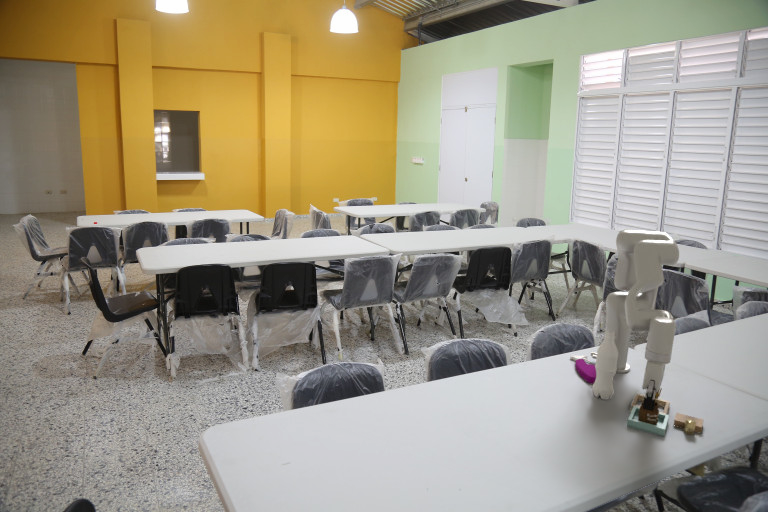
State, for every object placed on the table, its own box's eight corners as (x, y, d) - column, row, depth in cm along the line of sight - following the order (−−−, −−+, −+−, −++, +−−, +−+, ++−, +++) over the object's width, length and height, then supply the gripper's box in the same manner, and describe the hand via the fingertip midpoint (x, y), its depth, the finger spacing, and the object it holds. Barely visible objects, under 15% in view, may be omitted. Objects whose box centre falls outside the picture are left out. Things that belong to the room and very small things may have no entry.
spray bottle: (586, 385, 219) (563, 359, 243) (615, 385, 219) (589, 359, 243) (587, 377, 218) (564, 353, 242) (615, 377, 219) (590, 353, 242)
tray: (627, 426, 189) (628, 419, 188) (632, 412, 198) (633, 405, 197) (663, 436, 183) (664, 429, 182) (668, 422, 192) (669, 415, 191)
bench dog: (683, 433, 185) (685, 421, 184) (684, 429, 188) (686, 418, 187) (693, 436, 184) (695, 424, 183) (694, 432, 186) (696, 420, 185)
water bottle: (609, 392, 212) (617, 328, 206) (615, 401, 205) (624, 335, 199) (589, 391, 213) (597, 327, 207) (594, 400, 206) (602, 334, 200)
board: (673, 426, 190) (674, 419, 189) (675, 419, 195) (676, 412, 194) (700, 434, 186) (701, 427, 185) (702, 426, 191) (703, 419, 190)
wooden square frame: (630, 410, 199) (631, 405, 199) (635, 398, 208) (636, 393, 208) (665, 419, 193) (666, 414, 193) (669, 406, 202) (670, 401, 202)
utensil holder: (633, 419, 192) (638, 386, 189) (648, 416, 194) (652, 383, 191) (647, 428, 187) (652, 394, 184) (662, 424, 189) (667, 391, 186)
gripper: (649, 343, 194) (642, 390, 198) (640, 361, 180) (633, 411, 184) (674, 348, 190) (666, 396, 194) (667, 367, 176) (659, 418, 180)
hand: (650, 403), depth 189 cm, fingers open, 9 cm apart
